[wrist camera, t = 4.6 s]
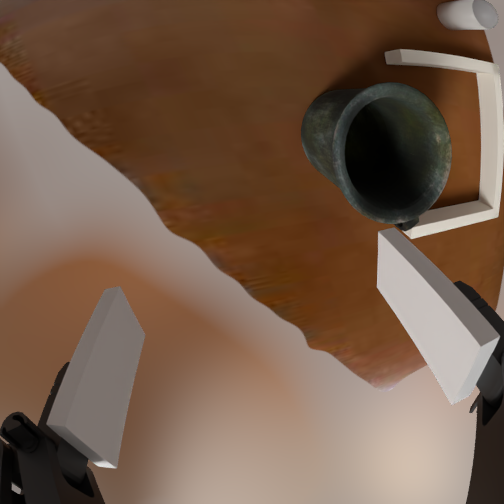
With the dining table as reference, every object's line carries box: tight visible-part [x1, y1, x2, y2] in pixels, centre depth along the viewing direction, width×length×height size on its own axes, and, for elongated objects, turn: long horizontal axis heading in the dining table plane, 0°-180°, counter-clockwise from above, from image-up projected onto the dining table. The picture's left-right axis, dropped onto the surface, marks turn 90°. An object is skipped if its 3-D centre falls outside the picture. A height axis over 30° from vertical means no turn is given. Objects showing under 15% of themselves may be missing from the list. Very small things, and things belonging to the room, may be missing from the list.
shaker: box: [437, 0, 498, 30], centre depth 18 cm, size 4×4×9 cm
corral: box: [384, 49, 504, 239], centre depth 29 cm, size 22×17×4 cm
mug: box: [301, 82, 452, 231], centre depth 25 cm, size 11×15×12 cm
